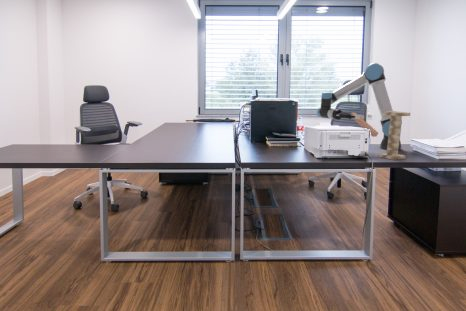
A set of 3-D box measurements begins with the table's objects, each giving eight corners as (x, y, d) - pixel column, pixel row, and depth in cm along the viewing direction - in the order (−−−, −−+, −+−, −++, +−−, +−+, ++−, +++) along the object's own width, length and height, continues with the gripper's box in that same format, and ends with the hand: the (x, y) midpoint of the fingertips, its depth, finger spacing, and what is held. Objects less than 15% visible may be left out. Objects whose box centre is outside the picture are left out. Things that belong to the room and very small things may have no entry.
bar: (349, 115, 300) (351, 112, 298) (353, 115, 302) (355, 112, 301) (372, 136, 286) (375, 133, 284) (376, 136, 288) (378, 132, 287)
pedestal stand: (378, 156, 279) (383, 111, 274) (389, 155, 286) (393, 111, 281) (394, 159, 270) (399, 113, 264) (405, 158, 277) (410, 112, 271)
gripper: (342, 119, 318) (368, 122, 300) (327, 119, 308) (353, 123, 290) (343, 109, 317) (369, 111, 299) (327, 109, 307) (354, 112, 289)
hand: (361, 117), depth 294 cm, fingers closed on bar, 4 cm apart
